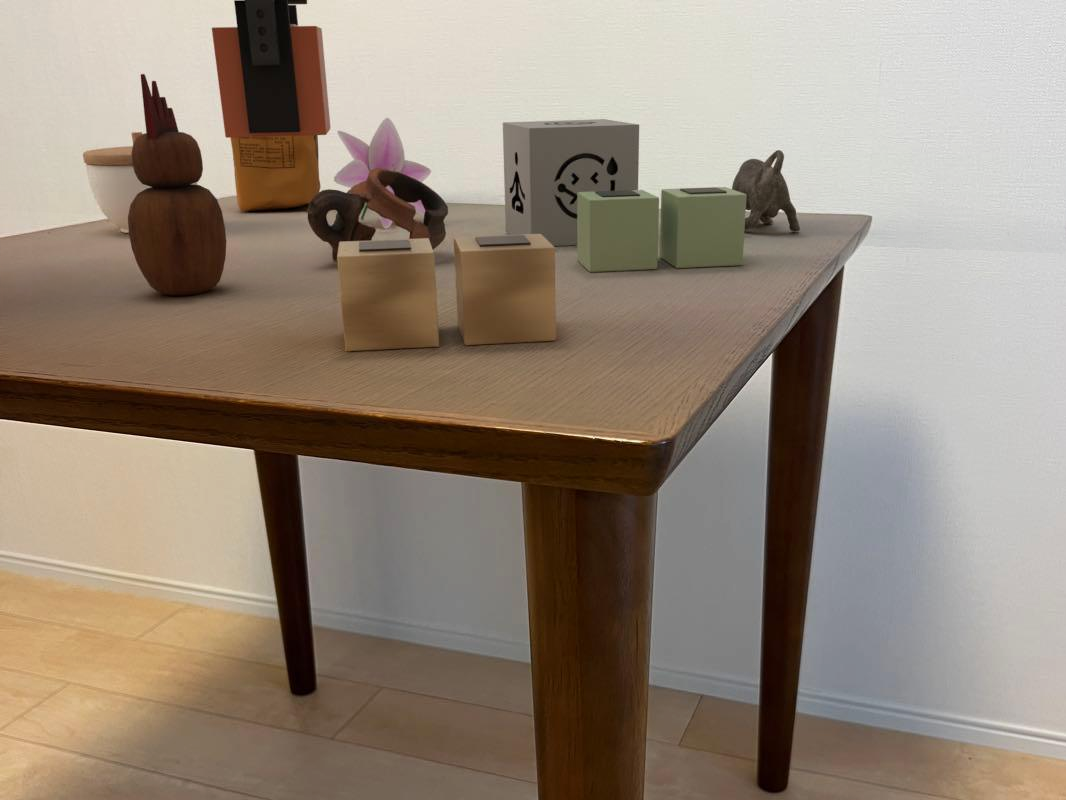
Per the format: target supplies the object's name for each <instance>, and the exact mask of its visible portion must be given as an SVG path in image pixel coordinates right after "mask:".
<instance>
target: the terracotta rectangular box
mask: <svg viewBox="0 0 1066 800" xmlns="http://www.w3.org/2000/svg"><path fill="white" fill-rule="evenodd" d="M290 28H291V38H292V48H293V59H294V69H295V79H296V89H297V100H298V110H299V120H300V132H276V133H249V125H248V116H247V108H246V99H245V90H244V82H243V73H242V64H241V56H240V47H239V38H238V30H237V26H223V27H215V26H214V27H213V26H212V27H211V34H212V41H213V50H214V56H215V65H216V73H217V82H218V89H219V99H220V104H221V112H222V121H223V129H224V136H225V138H227V139H231V137H269V136H307V135H317V136H326V135H328V133H329V131H330V130H331V128H332V127H331V117H330V116H331V115H330V106H329V95H328V84H327V73H326V62H325V61H326V60H325V51H324V40H323V29H322V28H321V27H320V26H317V25H299V24H298V25H295V24H290Z"/></svg>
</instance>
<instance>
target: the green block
mask: <svg viewBox="0 0 1066 800" xmlns="http://www.w3.org/2000/svg"><path fill="white" fill-rule="evenodd" d="M659 218H660V197H658V196H657V195H655V194H653V193H650V192H648V191H646V190H643V189H638V190H623V191H594V192H578V193H577V245H576V246H577V247H576V248H577V249H576V251H577V252H576V253H577V254H576V255H577V258H576V259H577V262H579V263H580V264H581V265H582V266H583V267H584V268H585V269H586V270H587V271H588V272H589V273H600V272H601V273H602V272H603V273H604V272H623V271H646V270H648V271H649V270H657V269H658V262H659V261H658V260H659V259H658V257H659V224H660V223H659V220H660V219H659Z"/></svg>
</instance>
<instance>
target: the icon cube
mask: <svg viewBox="0 0 1066 800" xmlns="http://www.w3.org/2000/svg"><path fill="white" fill-rule="evenodd" d="M502 147H503V150H502V151H503V181H504V186H503V187H504V216H505V217H504V218H505V219H504V221H505V233H507V235H520V234H542V235H543V236H544V237H545V238H546V239H547V240H548V241H549V242H550V243H551V244H552V245H553V246H554V247H563V246H564V247H565V246H577V193H578V192H594V191H623V190H639V169H640V167H639V165H640V164H639V160H640V124H638V123H633V122H626V121H619V120H612V119H607V118H606V119H605V118H598V119H597V118H596V119H593V118H592V119H567V120H566V119H565V120H564V119H563V120H539V121H538V120H535V121H507V122H506V121H505V122H502Z"/></svg>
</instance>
